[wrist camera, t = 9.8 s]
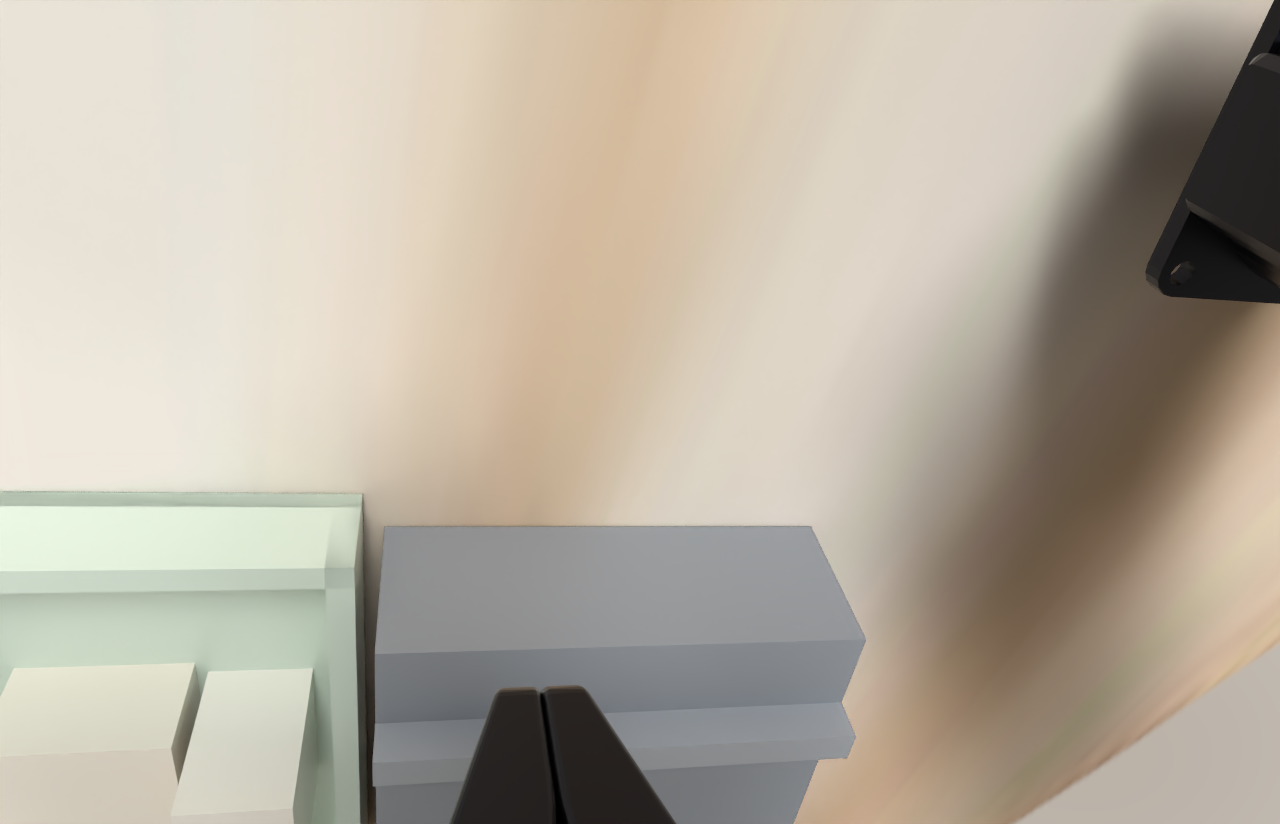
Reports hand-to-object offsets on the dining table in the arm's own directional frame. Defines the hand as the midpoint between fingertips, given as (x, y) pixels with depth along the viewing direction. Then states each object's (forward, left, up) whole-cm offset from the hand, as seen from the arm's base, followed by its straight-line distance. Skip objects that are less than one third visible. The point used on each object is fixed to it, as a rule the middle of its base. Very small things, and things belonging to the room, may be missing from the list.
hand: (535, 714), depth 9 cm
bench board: (-4, +14, -12) cm, 19 cm away
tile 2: (+4, +14, -10) cm, 18 cm away
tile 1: (+8, +14, -9) cm, 19 cm away
